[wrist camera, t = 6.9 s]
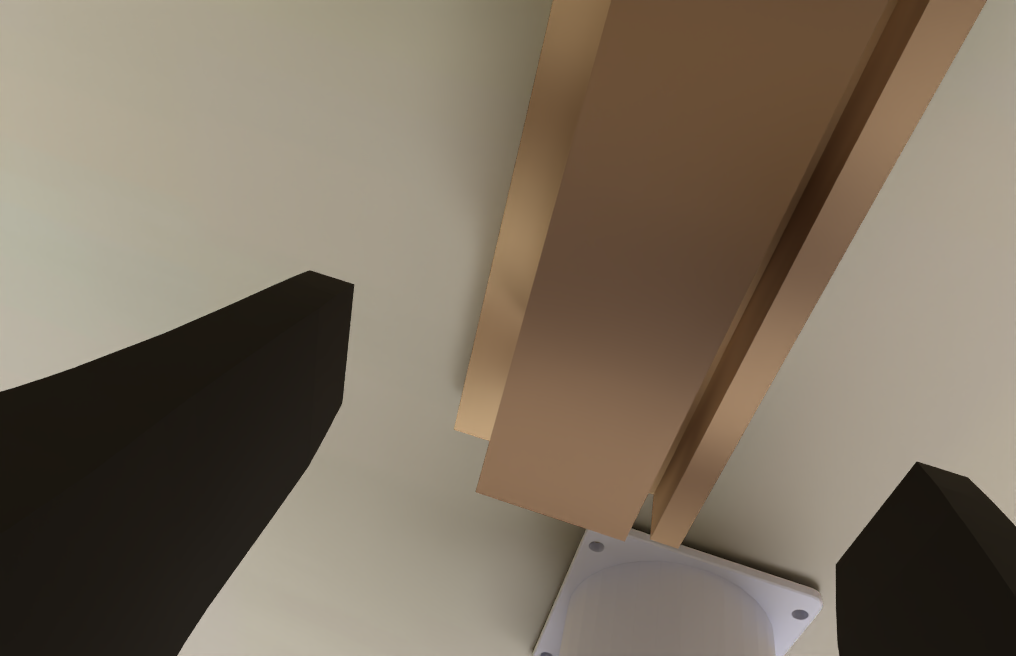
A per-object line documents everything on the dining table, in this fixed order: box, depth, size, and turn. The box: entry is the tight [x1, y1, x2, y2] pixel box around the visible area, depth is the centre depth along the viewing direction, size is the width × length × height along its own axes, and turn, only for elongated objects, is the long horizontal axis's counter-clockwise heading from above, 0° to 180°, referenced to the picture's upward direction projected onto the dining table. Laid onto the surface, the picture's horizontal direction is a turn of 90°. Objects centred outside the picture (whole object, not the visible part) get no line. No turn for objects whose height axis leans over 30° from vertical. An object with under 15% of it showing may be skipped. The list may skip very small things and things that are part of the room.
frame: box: [476, 0, 889, 542], centre depth 13 cm, size 10×3×6 cm, turn 168°
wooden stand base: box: [454, 0, 987, 549], centre depth 15 cm, size 18×7×4 cm, turn 168°
